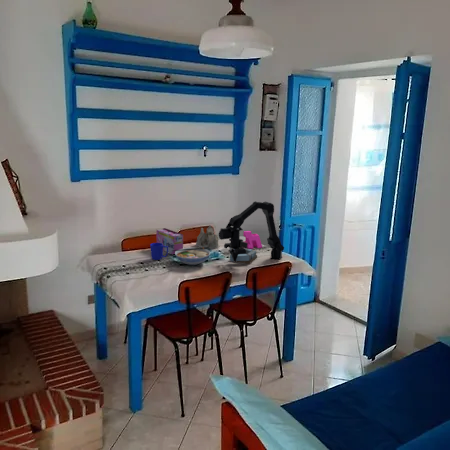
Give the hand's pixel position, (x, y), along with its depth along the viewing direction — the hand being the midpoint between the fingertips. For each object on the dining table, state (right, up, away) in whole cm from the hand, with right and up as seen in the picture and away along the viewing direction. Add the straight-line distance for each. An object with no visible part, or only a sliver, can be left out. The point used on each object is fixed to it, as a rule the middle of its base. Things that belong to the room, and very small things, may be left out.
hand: (234, 261), depth 287 cm
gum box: (-45, +5, +31) cm, 55 cm away
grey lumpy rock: (-19, +8, +43) cm, 48 cm away
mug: (-50, 0, +11) cm, 51 cm away
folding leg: (+4, 0, +4) cm, 6 cm away
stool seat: (+6, 0, +12) cm, 14 cm away
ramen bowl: (-27, -2, +3) cm, 27 cm away
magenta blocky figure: (+14, +7, +43) cm, 46 cm away
